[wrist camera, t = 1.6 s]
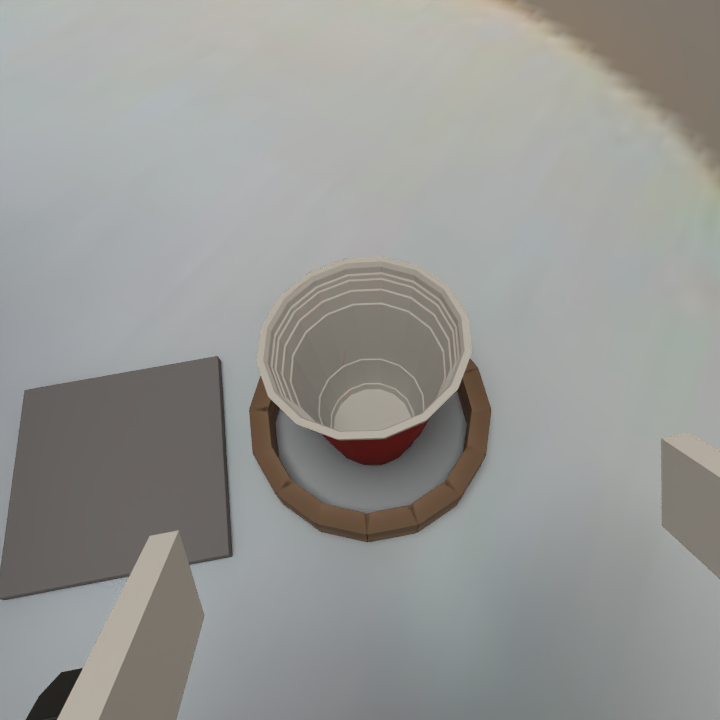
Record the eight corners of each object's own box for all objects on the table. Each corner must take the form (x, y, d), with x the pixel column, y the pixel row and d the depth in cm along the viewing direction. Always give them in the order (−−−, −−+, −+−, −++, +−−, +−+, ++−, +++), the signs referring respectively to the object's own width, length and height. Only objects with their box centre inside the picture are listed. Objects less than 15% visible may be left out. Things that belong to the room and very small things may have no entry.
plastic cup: (350, 330, 41) (336, 219, 30) (478, 402, 37) (512, 306, 27) (260, 445, 37) (207, 363, 26) (393, 536, 34) (394, 485, 23)
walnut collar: (269, 561, 33) (255, 550, 30) (248, 321, 42) (235, 290, 38) (513, 514, 34) (527, 498, 30) (443, 287, 42) (448, 254, 39)
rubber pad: (4, 600, 33) (-4, 598, 32) (31, 394, 40) (24, 390, 39) (232, 556, 33) (228, 554, 33) (220, 361, 40) (217, 356, 39)
